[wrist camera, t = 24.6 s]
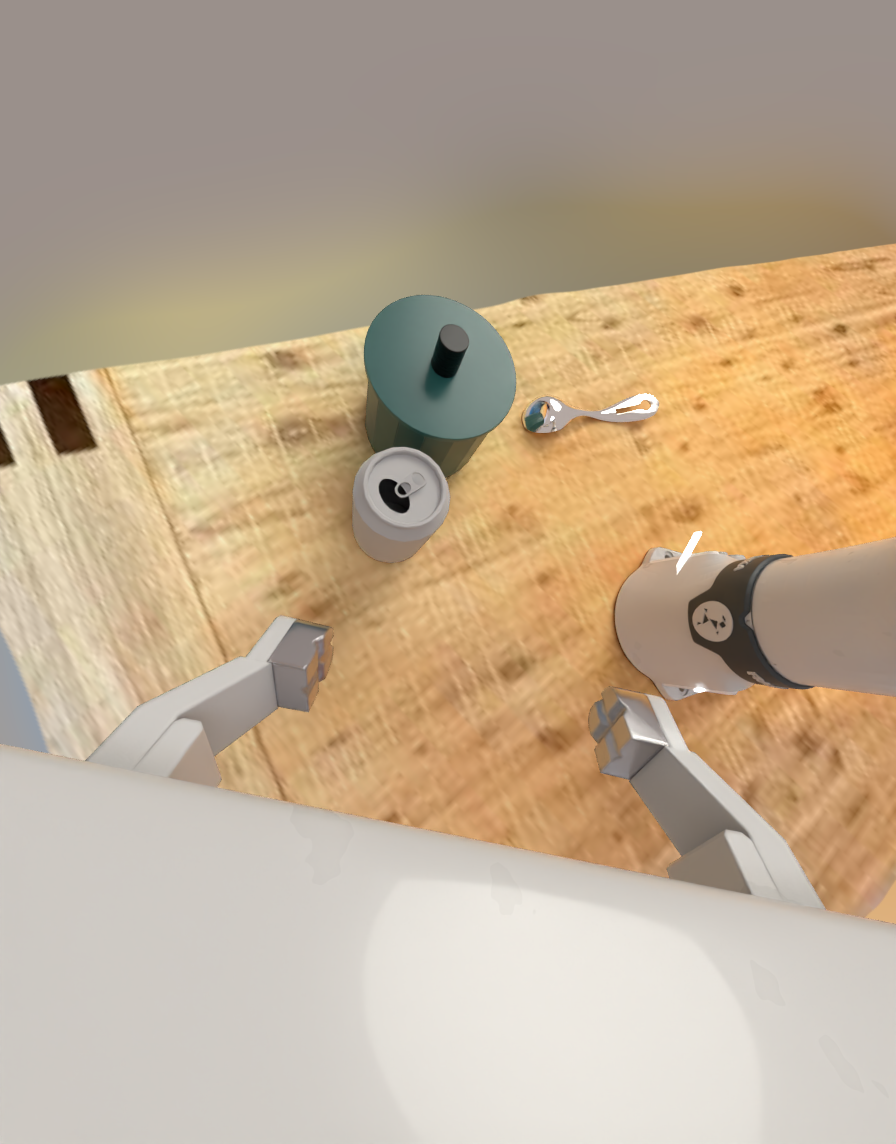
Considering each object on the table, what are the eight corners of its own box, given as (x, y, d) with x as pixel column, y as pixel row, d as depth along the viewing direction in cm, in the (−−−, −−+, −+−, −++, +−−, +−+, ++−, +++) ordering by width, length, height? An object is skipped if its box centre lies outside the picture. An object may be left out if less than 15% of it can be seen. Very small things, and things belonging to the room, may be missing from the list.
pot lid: (481, 299, 33) (498, 255, 29) (531, 429, 33) (556, 402, 29) (341, 313, 29) (339, 265, 25) (395, 461, 29) (402, 435, 25)
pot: (452, 370, 42) (480, 298, 32) (489, 466, 41) (528, 421, 32) (349, 387, 38) (348, 311, 29) (388, 493, 37) (400, 450, 28)
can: (337, 519, 35) (330, 468, 24) (396, 482, 38) (416, 419, 26) (381, 578, 36) (396, 556, 24) (438, 538, 38) (475, 500, 27)
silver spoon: (665, 375, 45) (676, 409, 45) (645, 393, 49) (654, 424, 48) (527, 391, 41) (537, 429, 40) (515, 409, 44) (524, 444, 44)
